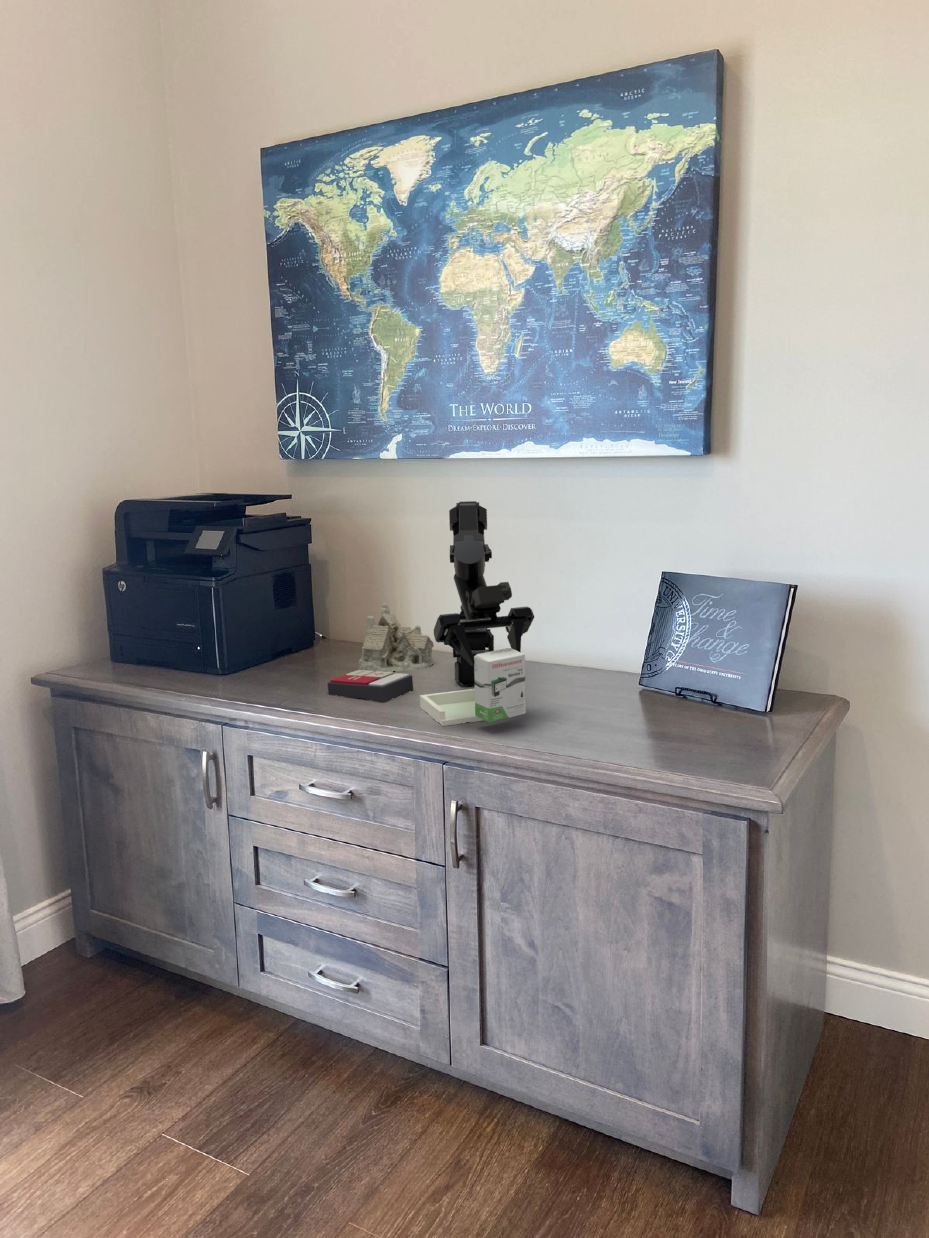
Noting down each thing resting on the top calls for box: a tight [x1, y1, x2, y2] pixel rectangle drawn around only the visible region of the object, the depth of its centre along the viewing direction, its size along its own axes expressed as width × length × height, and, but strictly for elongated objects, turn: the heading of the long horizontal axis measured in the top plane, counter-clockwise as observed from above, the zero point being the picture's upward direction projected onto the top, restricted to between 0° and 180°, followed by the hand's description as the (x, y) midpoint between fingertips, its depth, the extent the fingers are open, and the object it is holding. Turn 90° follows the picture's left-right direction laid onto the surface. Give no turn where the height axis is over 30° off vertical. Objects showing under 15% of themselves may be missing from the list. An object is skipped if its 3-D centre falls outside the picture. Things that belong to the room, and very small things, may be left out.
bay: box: [419, 688, 486, 727], centre depth 184 cm, size 13×14×2 cm
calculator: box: [327, 669, 414, 703], centre depth 201 cm, size 11×4×15 cm
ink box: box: [474, 647, 527, 723], centre depth 172 cm, size 9×5×12 cm, turn 123°
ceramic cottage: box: [357, 603, 435, 672], centre depth 223 cm, size 16×16×15 cm
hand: (496, 661), depth 172 cm, fingers closed on ink box, 9 cm apart
